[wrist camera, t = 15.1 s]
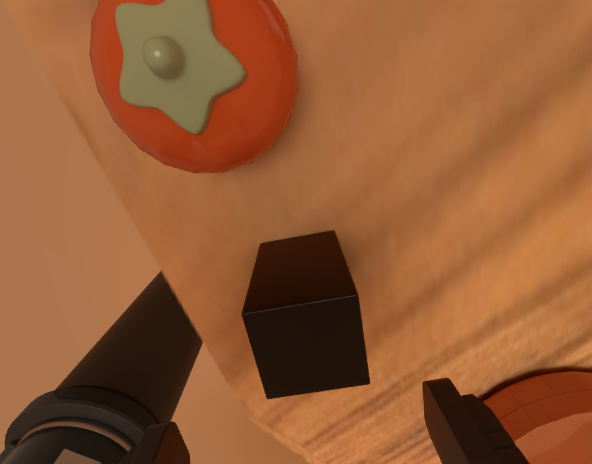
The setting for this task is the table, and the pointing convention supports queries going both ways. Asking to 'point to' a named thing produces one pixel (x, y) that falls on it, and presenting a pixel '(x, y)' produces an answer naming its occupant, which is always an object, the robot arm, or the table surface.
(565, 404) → the pan
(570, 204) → the table surface
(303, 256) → the block
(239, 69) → the tomato
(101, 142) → the table surface
